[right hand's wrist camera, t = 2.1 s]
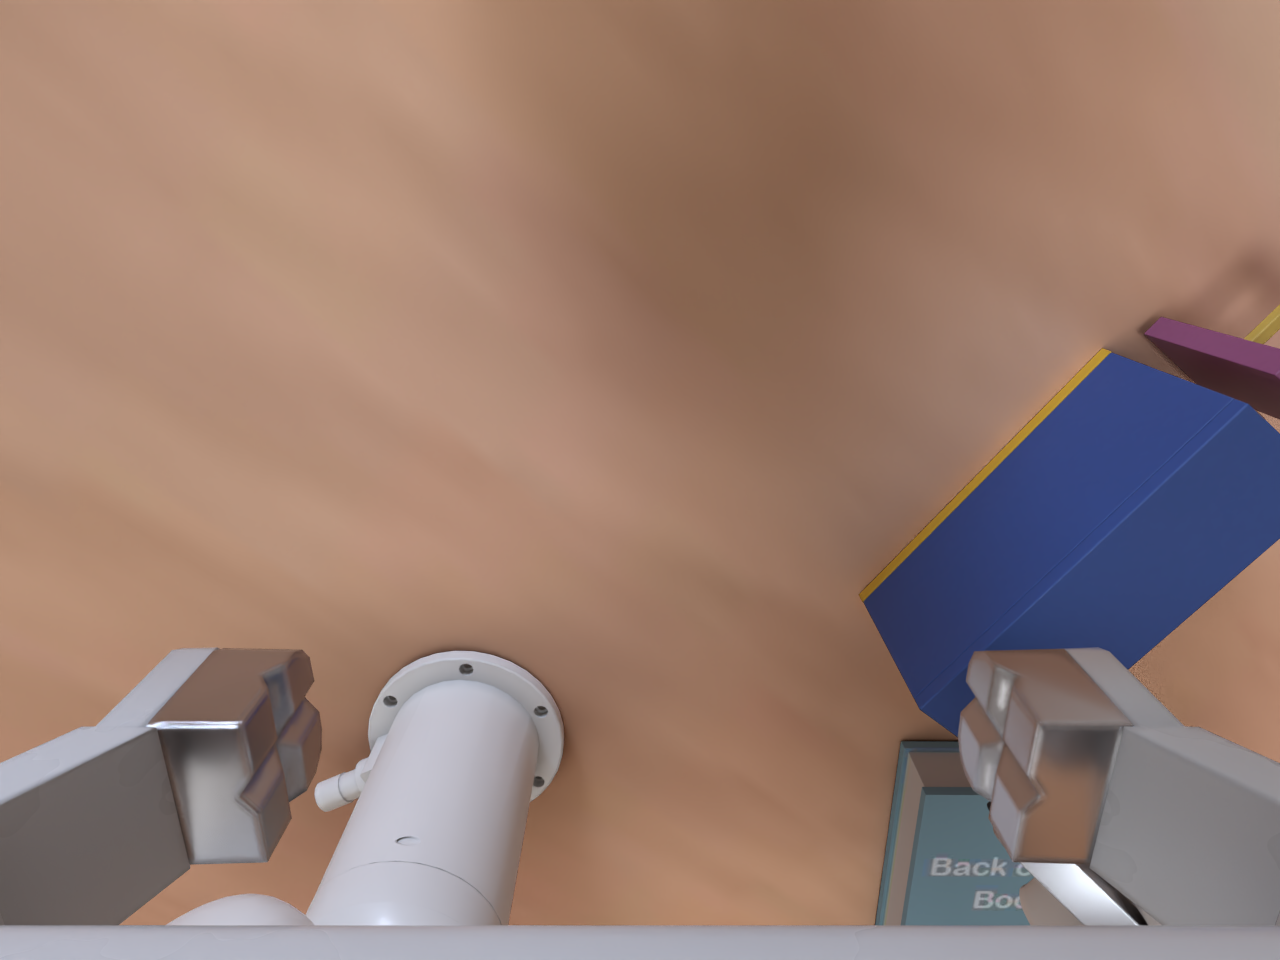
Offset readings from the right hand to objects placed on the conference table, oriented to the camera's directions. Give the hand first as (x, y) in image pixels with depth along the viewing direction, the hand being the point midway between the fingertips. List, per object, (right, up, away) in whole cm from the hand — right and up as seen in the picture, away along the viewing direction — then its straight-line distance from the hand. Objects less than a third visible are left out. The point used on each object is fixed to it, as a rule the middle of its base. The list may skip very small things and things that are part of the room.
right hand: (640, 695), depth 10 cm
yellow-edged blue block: (+22, +1, +39) cm, 44 cm away
